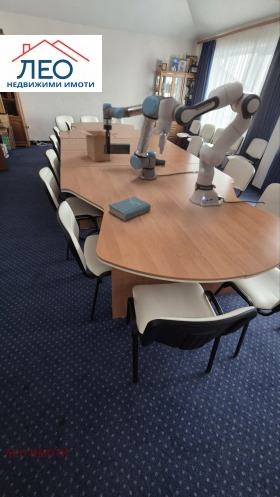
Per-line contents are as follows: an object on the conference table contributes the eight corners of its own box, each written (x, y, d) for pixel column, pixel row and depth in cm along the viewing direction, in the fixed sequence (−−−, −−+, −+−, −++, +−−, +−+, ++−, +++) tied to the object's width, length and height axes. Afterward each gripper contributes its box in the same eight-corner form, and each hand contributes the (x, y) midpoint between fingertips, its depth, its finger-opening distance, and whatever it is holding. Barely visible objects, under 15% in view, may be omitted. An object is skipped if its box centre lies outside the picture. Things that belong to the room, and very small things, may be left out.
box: (120, 162, 240) (121, 134, 224) (89, 164, 226) (86, 135, 210) (106, 152, 270) (105, 127, 254) (77, 154, 256) (74, 127, 240)
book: (133, 203, 159) (134, 196, 156) (150, 211, 150) (150, 204, 147) (108, 212, 145) (108, 205, 142) (125, 221, 137) (125, 214, 134)
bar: (104, 154, 204) (104, 144, 199) (103, 152, 207) (103, 143, 202) (129, 154, 209) (130, 144, 204) (128, 152, 213) (129, 143, 208)
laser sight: (164, 167, 235) (165, 157, 229) (143, 164, 238) (144, 154, 232) (165, 164, 242) (166, 155, 236) (145, 162, 245) (145, 152, 239)
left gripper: (113, 126, 186) (113, 155, 200) (110, 123, 200) (110, 150, 214) (104, 126, 184) (105, 155, 198) (102, 122, 198) (103, 150, 212)
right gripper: (168, 131, 127) (165, 156, 135) (170, 126, 143) (167, 149, 152) (157, 130, 128) (155, 155, 136) (160, 125, 144) (158, 148, 152)
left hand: (108, 152), depth 206 cm, fingers closed on bar, 5 cm apart
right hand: (161, 152), depth 144 cm, fingers open, 8 cm apart
